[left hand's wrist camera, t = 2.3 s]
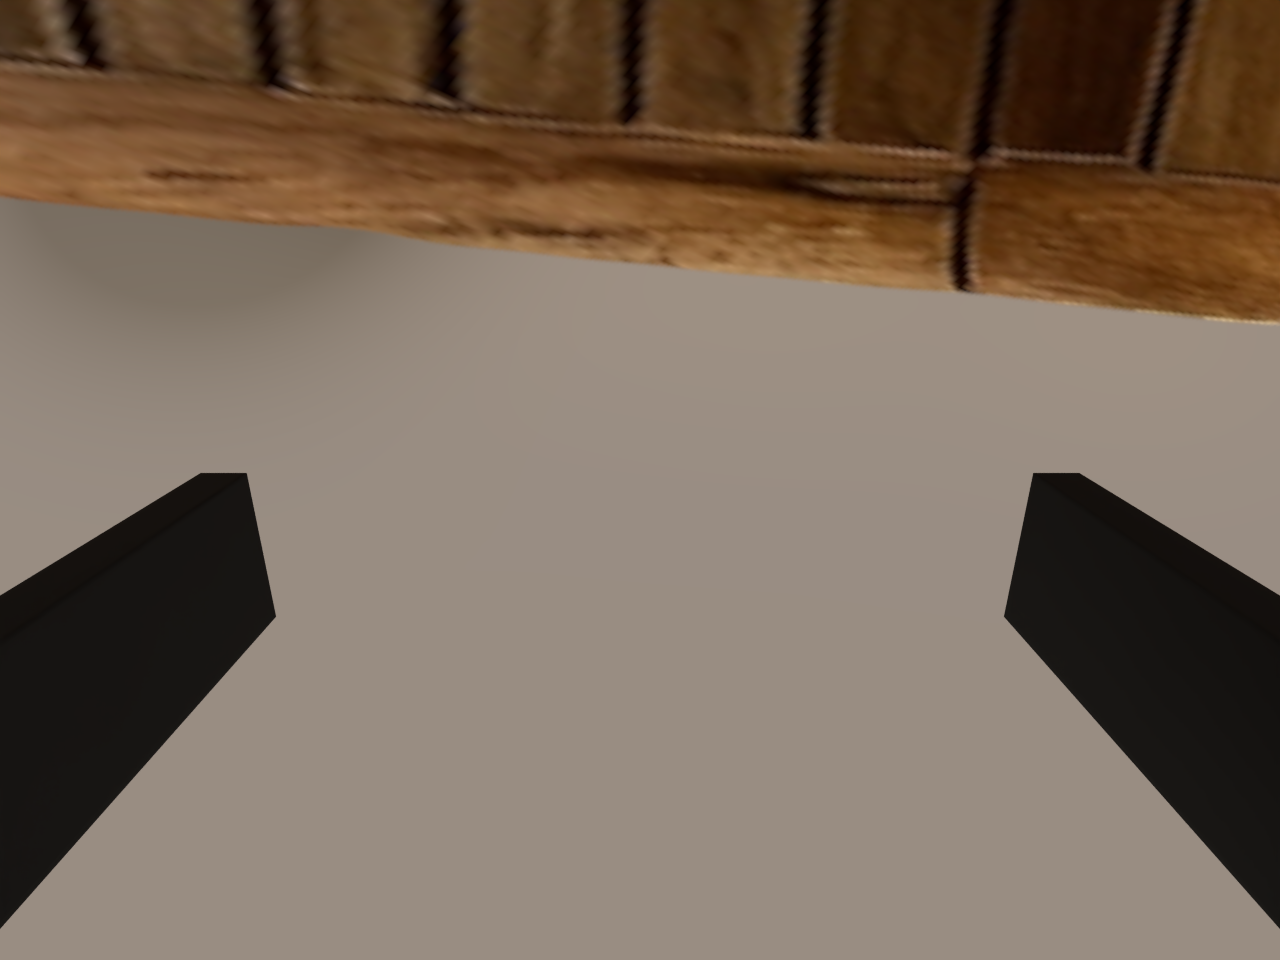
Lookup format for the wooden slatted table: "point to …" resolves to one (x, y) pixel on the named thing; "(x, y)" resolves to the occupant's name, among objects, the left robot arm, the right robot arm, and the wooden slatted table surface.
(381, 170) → the wooden slatted table surface
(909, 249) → the wooden slatted table surface
